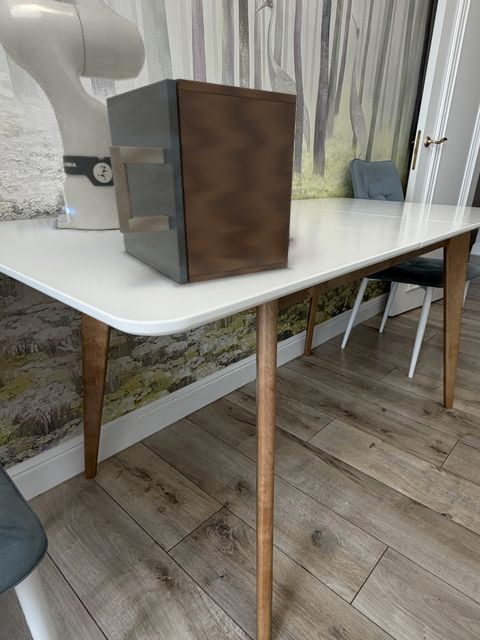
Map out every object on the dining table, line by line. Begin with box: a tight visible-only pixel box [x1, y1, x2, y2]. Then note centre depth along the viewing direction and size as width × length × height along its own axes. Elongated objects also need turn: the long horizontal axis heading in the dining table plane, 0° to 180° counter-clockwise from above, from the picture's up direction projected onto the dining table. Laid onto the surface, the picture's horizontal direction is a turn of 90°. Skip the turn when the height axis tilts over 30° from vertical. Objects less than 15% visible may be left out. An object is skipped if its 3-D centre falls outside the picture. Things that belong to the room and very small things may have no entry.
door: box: [105, 78, 189, 285], centre depth 52 cm, size 7×22×22 cm, turn 35°
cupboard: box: [174, 78, 298, 284], centre depth 58 cm, size 16×22×22 cm
